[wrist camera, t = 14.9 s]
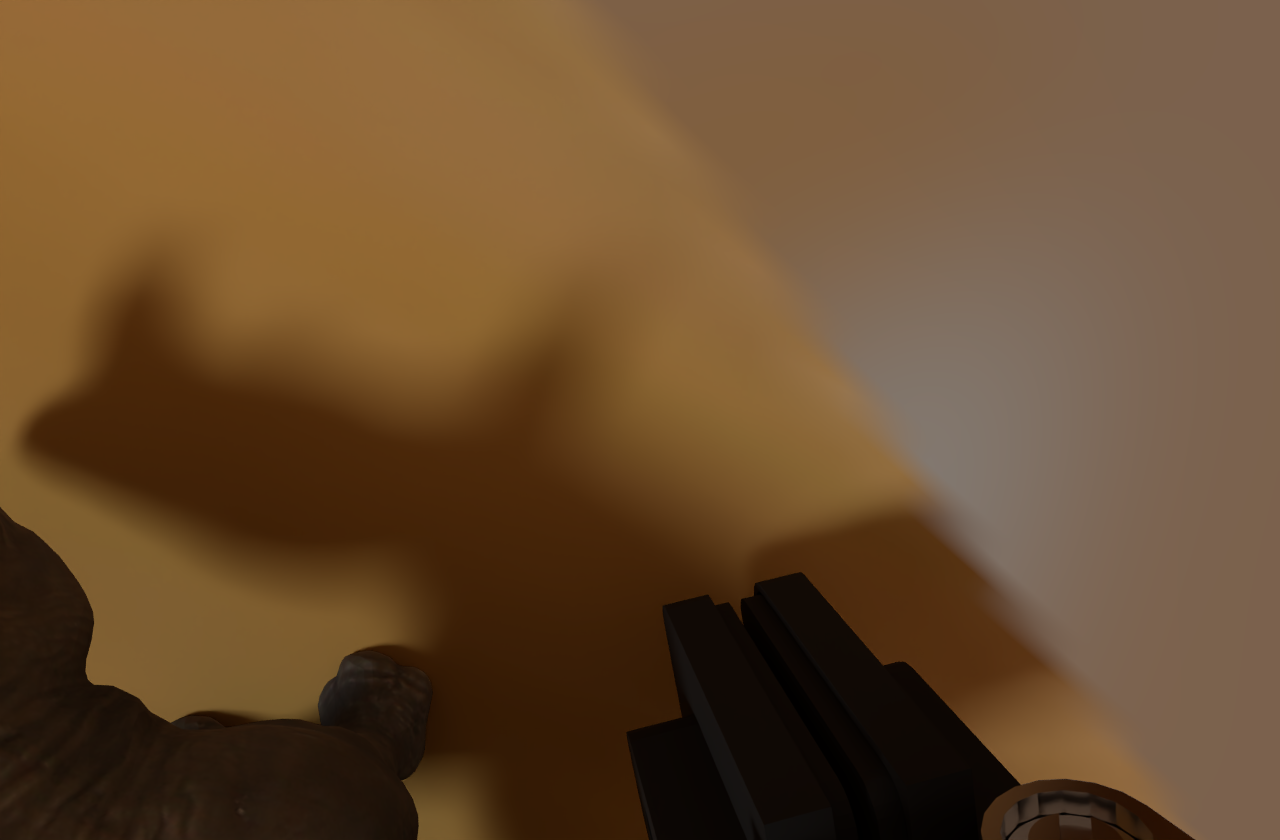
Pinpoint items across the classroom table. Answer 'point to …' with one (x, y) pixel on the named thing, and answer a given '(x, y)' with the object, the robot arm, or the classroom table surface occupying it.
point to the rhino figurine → (185, 739)
